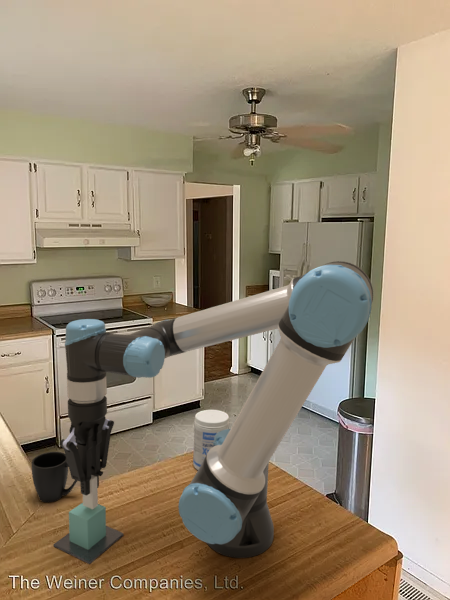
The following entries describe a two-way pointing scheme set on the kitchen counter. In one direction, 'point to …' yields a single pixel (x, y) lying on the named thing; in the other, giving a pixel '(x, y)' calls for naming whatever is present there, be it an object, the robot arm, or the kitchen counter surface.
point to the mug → (51, 476)
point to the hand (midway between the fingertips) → (90, 505)
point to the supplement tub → (207, 432)
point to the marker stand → (95, 550)
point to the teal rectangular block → (87, 525)
